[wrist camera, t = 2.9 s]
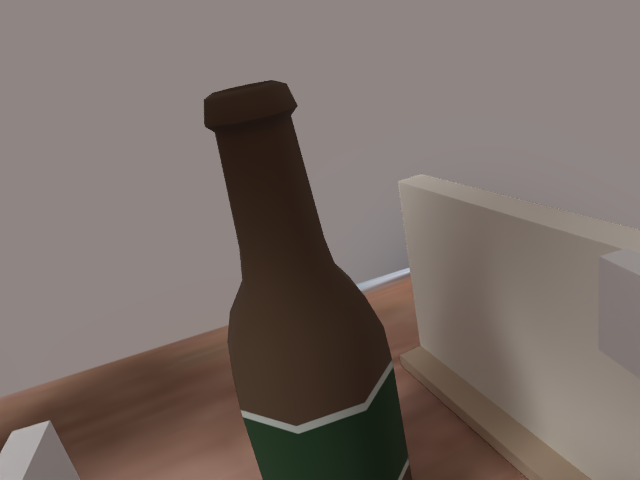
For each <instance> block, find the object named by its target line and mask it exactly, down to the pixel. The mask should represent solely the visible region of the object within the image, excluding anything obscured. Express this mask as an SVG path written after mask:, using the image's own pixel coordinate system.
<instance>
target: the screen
mask: <svg viewBox="0 0 640 480" xmlns="http://www.w3.org/2000/svg"><path fill="white" fill-rule="evenodd" d="M398 186H399V194H400V200H401V207H402V215H403V223H404V230H405V237H406V245H407V252H408V259H409V267H410V274H411V281H412V289H413V296H414V303H415V311H416V318H417V325H418V333H419V340H420V346H418V347H416V348H414V349H411V350H409V351H407V352H405V353H403V354H401V355H400V361H401V365H402V366H403V367H404V368H405V369H406V370H407V371H408V372H409V373H411V374H412V375H413V376H414V377H415V378H416V379H417V380H418V381H419V382H421V383H422V384H423V385H424V386H425V387H426V388H427V389H428V390H429V391H431V392H432V393H433V394H434V395H435V396H436V397H437V398H438V399H440V400H441V401H442V402H443V403H444V404H445V405H446V406H447V407H448V408H450V409H451V410H452V411H453V412H454V413H455V414H456V415H457V416H458V417H460V418H461V419H462V420H463V421H464V422H465V423H466V424H467V425H469V426H470V427H471V428H472V429H473V430H474V431H475V432H476V433H477V434H479V435H480V436H481V437H482V438H483V439H484V440H485V441H486V442H487V443H489V444H490V445H491V446H492V447H493V448H494V449H495V450H496V451H497V452H499V453H500V454H501V455H502V456H503V457H504V458H505V459H506V460H508V461H509V462H510V463H511V464H512V465H513V466H514V467H515V468H516V469H518V470H519V471H520V472H521V473H522V474H523V475H524V476H525V477H526V478H528V479H529V480H640V379H639V378H638V377H636V376H635V375H633V374H632V373H631V372H629V371H628V370H626V369H625V368H624V367H622V366H621V365H619V364H618V363H617V362H615V361H614V360H612V359H611V358H610V357H608V356H607V355H605V354H604V353H603V352H601V351H600V350H598V335H599V256H602V255H605V254H609V253H612V252H615V251H619V250H622V249H625V248H627V249H630V250H632V251H635V252H637V253H639V254H640V229H636V228H632V227H628V226H624V225H620V224H616V223H612V222H608V221H604V220H600V219H596V218H593V217H589V216H585V215H581V214H577V213H573V212H569V211H565V210H561V209H557V208H553V207H549V206H545V205H542V204H538V203H534V202H530V201H526V200H522V199H518V198H514V197H510V196H506V195H502V194H498V193H495V192H490V191H487V190H483V189H479V188H475V187H470V186H467V185H463V184H459V183H455V182H451V181H447V180H443V179H440V178H436V177H431V176H428V175H423V174H420V175H416V176H413V177H410V178H407V179H404V180H401V181H399V182H398Z"/></svg>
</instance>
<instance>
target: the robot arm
mask: <svg viewBox="0 0 640 480" xmlns="http://www.w3.org/2000/svg"><path fill="white" fill-rule="evenodd" d="M598 350H600V351H601V352H603V353H604V354H605V355H607V356H608V357H610V358H611V359H612V360H614V361H615V362H617V363H618V364H619V365H621V366H622V367H624V368H625V369H626V370H628V371H629V372H631V373H632V374H633V375H635V376H636V377H638V378H639V379H640V254H639V253H637V252H635V251H632V250H630V249H627V248H625V249H622V250H619V251H615V252H612V253H609V254H605V255H602V256H599V335H598ZM0 480H80V478H79V476H78V474H77V472H76V470H75V468H74V466H73V464H72V462H71V460H70V458H69V456H68V454H67V452H66V451H65V449H64V447H63V445H62V443H61V441H60V439H59V437H58V435H57V433H56V431H55V429H54V427H53V425H52V423H51V421H50V420H49V421H45V422H42V423H39V424H35V425H32V426H29V427H25V428H22V429H19V430H15V431H12V433H11V435H10V436H9V438H8V440H7V442H6V444H5V445H4V447H3V449H2V451H1V453H0Z"/></svg>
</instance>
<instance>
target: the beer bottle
mask: <svg viewBox="0 0 640 480" xmlns="http://www.w3.org/2000/svg"><path fill="white" fill-rule="evenodd" d="M296 107H297V104H296V102H295V100H294V98H293V96H292V94H291V92H290V90H289V88H288V86H287V84H286V83H282V82H278V81H273V80H270V81H264V82H258V83H253V84H248V85H243V86H239V87H234V88H230V89H226V90H222V91H219V92H215V93H212V94H211V95H209V96H208V97H207V98H206V99H204V124H205V127H206V128H208V129H210V130H212V131H213V132H215V135H216V140H217V145H218V149H219V154H220V158H221V164H222V168H223V173H224V178H225V182H226V187H227V191H228V196H229V201H230V206H231V211H232V215H233V220H234V225H235V229H236V234H237V239H238V244H239V248H240V260H241V271H242V282H241V285H240V288H239V290H238V293H237V295H236V298H235V300H234V303H233V306H232V308H231V311H230V319H229V330H228V346H229V353H230V360H231V367H232V373H233V378H234V383H235V387H236V392H237V396H238V401H239V405H240V410H241V413H242V416H243V419H244V422H245V425H246V428H247V432H248V435H249V438H250V441H251V444H252V447H253V450H254V453H255V457H256V460H257V463H258V466H259V469H260V472H261V475H262V478H263V480H412V477H411V471H410V465H409V459H408V453H407V447H406V441H405V435H404V429H403V423H402V417H401V410H400V404H399V398H398V392H397V386H396V380H395V374H394V368H393V362H392V357H391V353H390V350H389V346H388V342H387V338H386V334H385V330H384V327H383V325H382V323H381V322H380V320H379V319H378V317H377V315H376V314H375V312H374V310H373V309H372V307H371V305H370V304H369V302H368V300H367V299H366V297H365V296H364V295H363V294H362V292H361V291H360V290H359V289H358V287H357V286H356V285H355V283H354V282H353V281H352V280H351V278H350V277H349V276H348V275H347V274H346V273H345V272H344V271H343V270H341V269H340V268H339V267H338V266H337V265H336V264H335V263H334V261H333V258H332V256H331V253H330V251H329V248H328V246H327V243H326V241H325V238H324V235H323V232H322V228H321V224H320V221H319V217H318V213H317V210H316V206H315V202H314V199H313V195H312V191H311V188H310V184H309V180H308V177H307V173H306V169H305V166H304V162H303V158H302V155H301V151H300V148H299V144H298V140H297V136H296V133H295V129H294V125H293V122H292V118H291V114H292V113H293V112H294V110H295V108H296Z"/></svg>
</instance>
